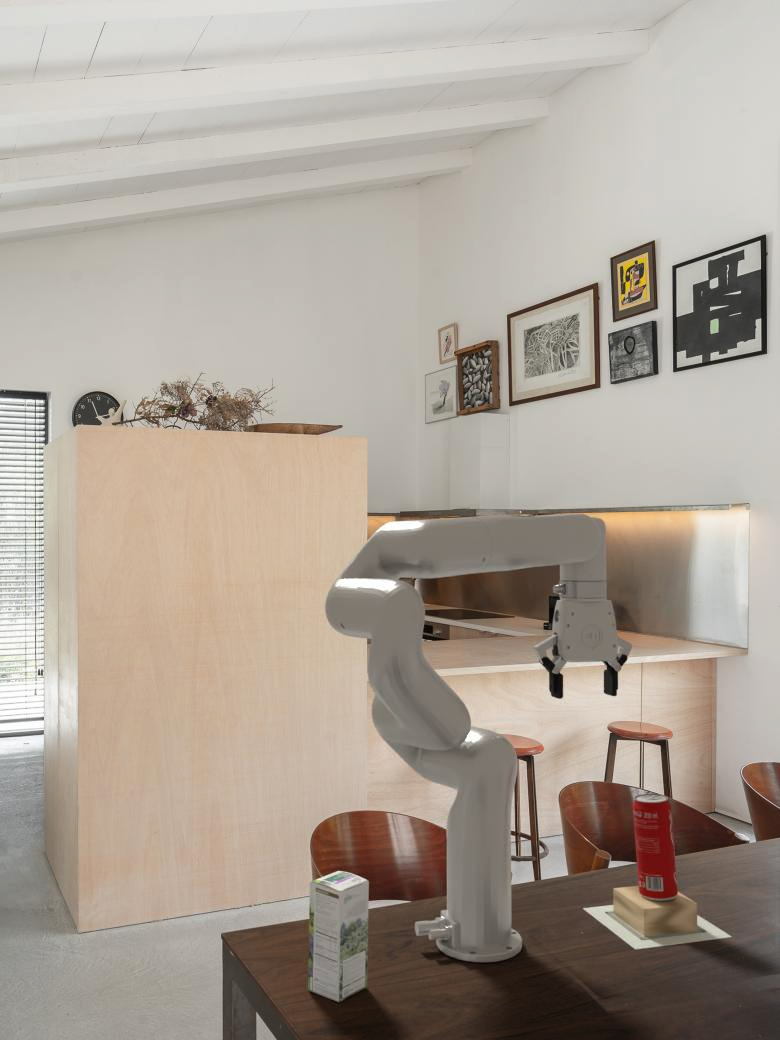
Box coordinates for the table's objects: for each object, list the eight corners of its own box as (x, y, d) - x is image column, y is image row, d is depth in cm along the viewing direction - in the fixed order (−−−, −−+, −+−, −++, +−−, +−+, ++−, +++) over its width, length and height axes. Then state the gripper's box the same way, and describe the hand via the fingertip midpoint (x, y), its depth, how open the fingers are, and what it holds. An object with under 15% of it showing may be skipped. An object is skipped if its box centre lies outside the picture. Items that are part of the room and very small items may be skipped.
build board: (635, 957, 134) (635, 948, 134) (582, 915, 149) (582, 907, 149) (732, 945, 138) (731, 936, 138) (671, 905, 153) (671, 897, 153)
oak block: (644, 936, 138) (643, 909, 138) (613, 914, 147) (613, 888, 147) (697, 930, 140) (697, 903, 141) (664, 908, 149) (663, 882, 149)
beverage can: (682, 902, 141) (681, 802, 141) (639, 902, 141) (638, 802, 141) (671, 888, 147) (670, 792, 147) (629, 888, 147) (628, 791, 147)
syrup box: (336, 975, 128) (336, 868, 128) (369, 988, 124) (369, 877, 125) (307, 990, 123) (307, 879, 124) (340, 1004, 120) (340, 889, 120)
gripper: (544, 593, 148) (545, 702, 148) (641, 592, 153) (642, 697, 152) (525, 591, 155) (525, 695, 155) (618, 590, 160) (619, 690, 160)
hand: (583, 696), depth 154 cm, fingers open, 9 cm apart
